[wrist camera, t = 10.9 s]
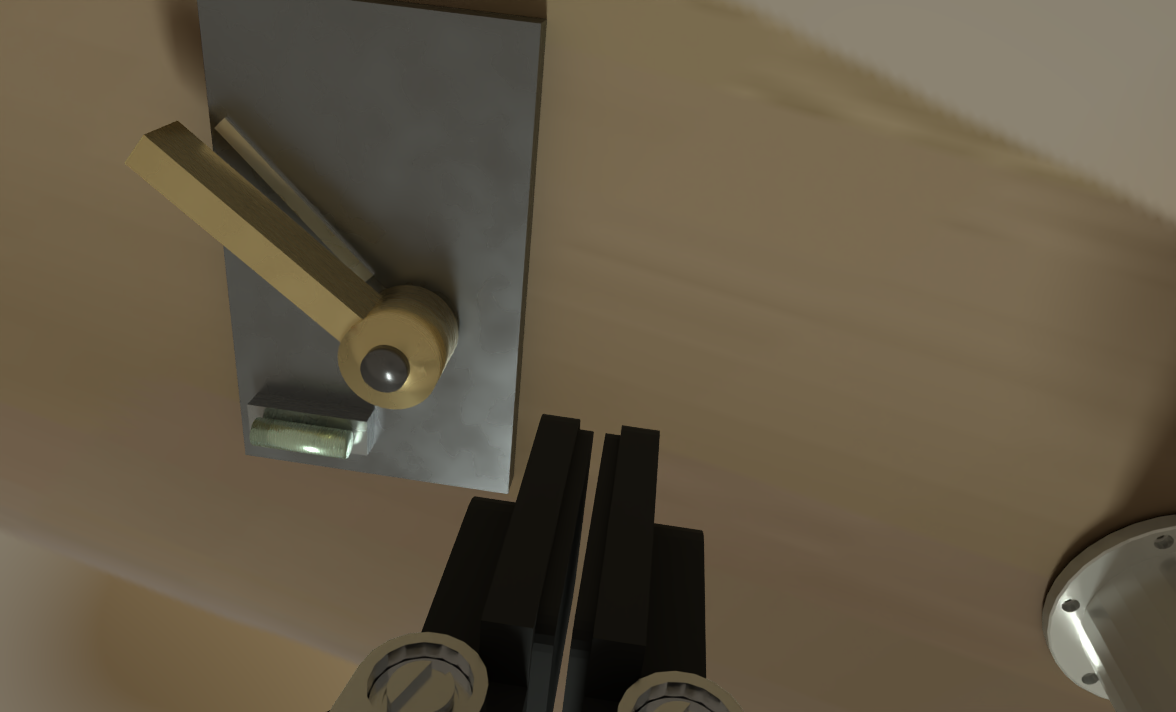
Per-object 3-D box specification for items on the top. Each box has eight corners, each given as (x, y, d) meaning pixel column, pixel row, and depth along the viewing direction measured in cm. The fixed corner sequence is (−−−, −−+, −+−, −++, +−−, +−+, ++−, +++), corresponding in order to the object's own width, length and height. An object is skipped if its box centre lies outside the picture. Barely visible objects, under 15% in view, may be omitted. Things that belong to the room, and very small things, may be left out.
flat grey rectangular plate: (546, 19, 35) (529, 32, 31) (513, 477, 46) (497, 525, 42) (213, -22, 36) (159, -14, 32) (258, 439, 46) (221, 484, 43)
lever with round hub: (206, 91, 36) (148, 113, 32) (477, 330, 40) (454, 374, 36) (154, 164, 38) (95, 193, 34) (419, 386, 42) (392, 434, 38)
